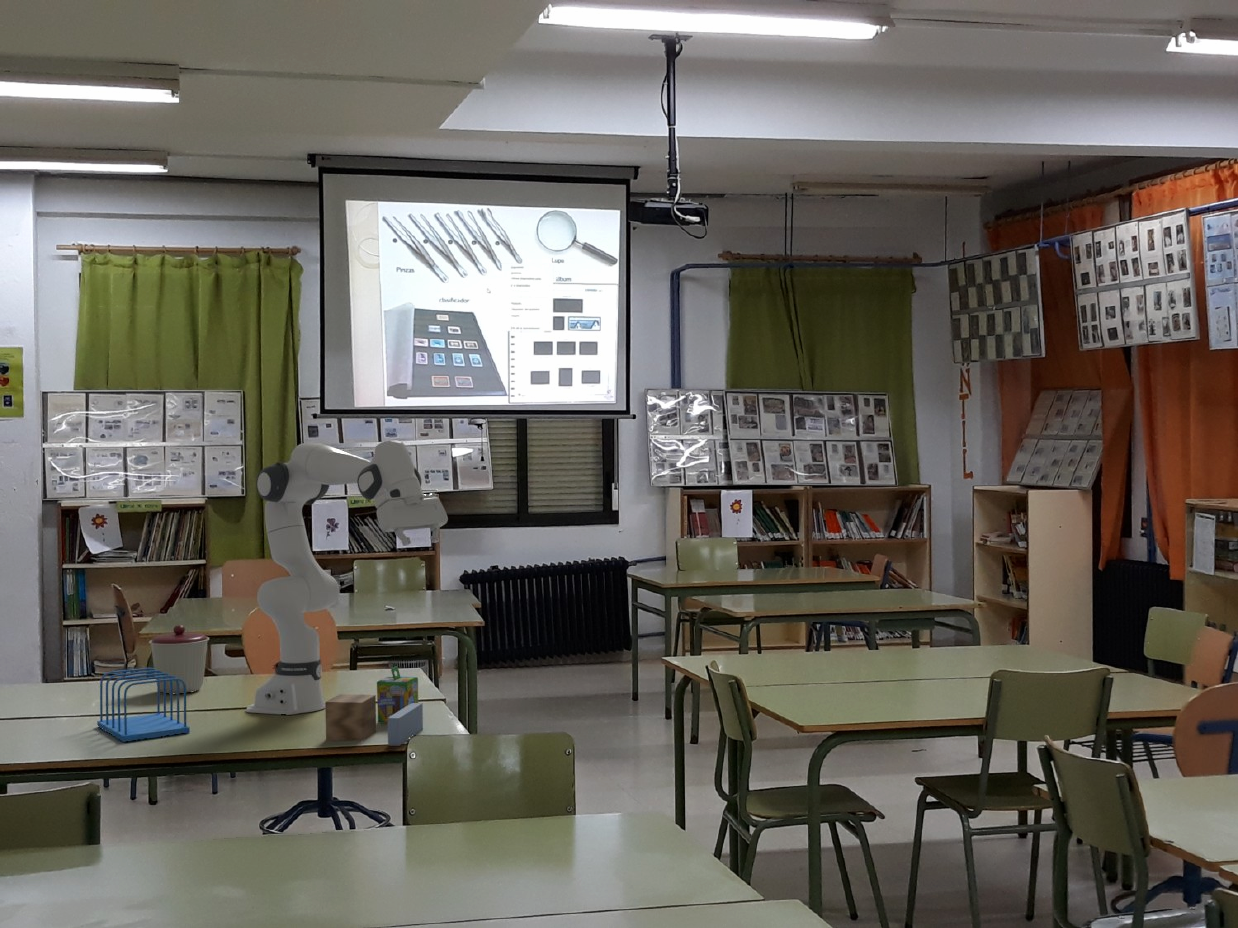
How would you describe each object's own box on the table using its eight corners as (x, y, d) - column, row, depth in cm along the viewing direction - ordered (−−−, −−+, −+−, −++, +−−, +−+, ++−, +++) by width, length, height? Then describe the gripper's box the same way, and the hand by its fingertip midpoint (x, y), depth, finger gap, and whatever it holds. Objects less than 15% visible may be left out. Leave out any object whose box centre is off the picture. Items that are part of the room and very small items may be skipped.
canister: (167, 685, 404) (166, 621, 404) (220, 686, 402) (219, 621, 401) (138, 696, 386) (137, 628, 386) (193, 697, 384) (192, 629, 383)
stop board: (388, 745, 317) (387, 717, 316) (412, 728, 335) (411, 702, 335) (399, 745, 316) (398, 718, 316) (422, 728, 335) (422, 703, 335)
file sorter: (190, 733, 334) (189, 676, 334) (123, 743, 323) (122, 684, 323) (160, 718, 354) (159, 665, 353) (96, 727, 343) (95, 672, 343)
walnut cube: (326, 740, 324) (325, 701, 324) (340, 731, 334) (339, 694, 334) (362, 740, 322) (361, 702, 322) (376, 732, 332) (375, 694, 332)
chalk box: (408, 724, 341) (407, 670, 341) (376, 723, 343) (375, 669, 343) (420, 717, 350) (419, 664, 350) (389, 716, 352) (388, 663, 352)
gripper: (430, 498, 341) (446, 544, 337) (368, 503, 326) (384, 551, 322) (443, 488, 337) (459, 535, 333) (381, 493, 322) (396, 541, 318)
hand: (421, 543), depth 328 cm, fingers open, 8 cm apart
